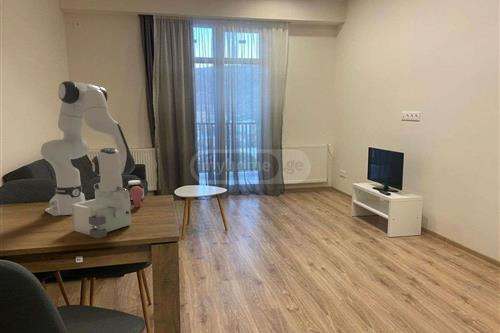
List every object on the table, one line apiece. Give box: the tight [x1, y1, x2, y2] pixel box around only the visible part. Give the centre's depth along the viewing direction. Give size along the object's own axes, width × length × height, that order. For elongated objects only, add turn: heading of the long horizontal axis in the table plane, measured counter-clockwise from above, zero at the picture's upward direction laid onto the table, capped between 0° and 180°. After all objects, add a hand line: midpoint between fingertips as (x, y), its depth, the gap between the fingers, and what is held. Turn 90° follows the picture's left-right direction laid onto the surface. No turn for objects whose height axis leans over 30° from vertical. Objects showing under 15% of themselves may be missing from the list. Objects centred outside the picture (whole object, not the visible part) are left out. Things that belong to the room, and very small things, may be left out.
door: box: [95, 207, 132, 233], centre depth 152 cm, size 3×16×10 cm, turn 147°
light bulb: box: [130, 186, 144, 208], centre depth 191 cm, size 7×7×12 cm
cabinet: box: [71, 198, 108, 239], centre depth 156 cm, size 19×21×12 cm
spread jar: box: [125, 179, 145, 202], centre depth 207 cm, size 12×11×12 cm
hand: (113, 216), depth 152 cm, fingers closed on door, 2 cm apart
